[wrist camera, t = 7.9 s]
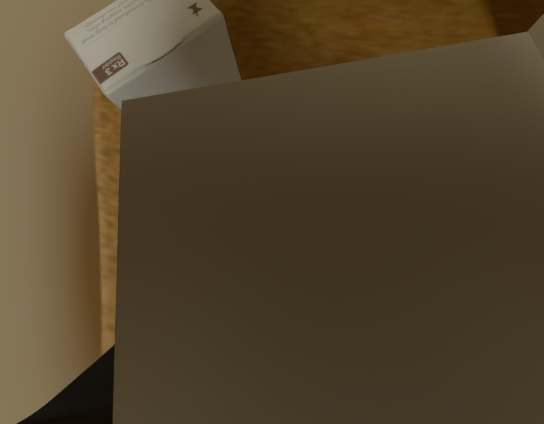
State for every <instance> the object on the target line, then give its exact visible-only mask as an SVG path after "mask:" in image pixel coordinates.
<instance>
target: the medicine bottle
mask: <svg viewBox="0 0 544 424" xmlns="http://www.w3.org/2000/svg"><path fill="white" fill-rule="evenodd" d="M528 32H529V34H530V36H531V38H532V40H533V41H534V43H535V45H536V47H537V49H538V51H539V53H540V55H541V57H542V59H543V61H544V14H543V15H542V16H541V17H540V18H539V19H538V21H537V22H536V23H535V24H534V25H533V26H532V27H531V28H530V29H529V30H528Z"/></svg>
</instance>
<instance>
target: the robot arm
mask: <svg viewBox="0 0 544 424" xmlns="http://www.w3.org/2000/svg"><path fill="white" fill-rule="evenodd" d="M114 354H115V345H114V346H112V347H111V348H110V349H109V350H108V351H107V352H106V353H105V354H104V355H102V356H101V357H100V358H99V359H98V360H97V361H96V362H94V363H93V364H92V365H91V366H90V367H89V368H87V369H86V370H85V371H84V372H83V373H82V374H81V375H79V376H78V377H77V378H76V379H75V380H74V381H72V383H70V384H69V385H68V386H67V387H66V388H64V389H63V390H62V391H61V392H60V393H59V394H57V395H56V396H55V397H54V398H53V399H52V400H50V401H49V402H48V403H47V404H46V405H44V406H43V407H42V408H41V409H39V410H38V411H36V412H35V413H33V414H32V415H31V416H29V417H27V418H26V419H24V420H22V421H21V422H19V423H17V424H113V390H114Z"/></svg>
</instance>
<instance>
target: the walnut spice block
mask: <svg viewBox="0 0 544 424" xmlns="http://www.w3.org/2000/svg"><path fill="white" fill-rule="evenodd" d="M113 424H544V61H543V59H542V57H541V55H540V53H539V51H538V49H537V47H536V45H535V43H534V41H533V40H532V38H531V36H530V34H529V32H522V33H516V34H511V35H505V36H499V37H493V38H487V39H481V40H475V41H470V42H464V43H458V44H452V45H446V46H440V47H434V48H428V49H423V50H417V51H411V52H405V53H399V54H393V55H387V56H381V57H376V58H370V59H364V60H358V61H352V62H346V63H340V64H335V65H329V66H323V67H317V68H311V69H305V70H299V71H293V72H288V73H282V74H276V75H270V76H264V77H258V78H252V79H246V80H241V81H235V82H229V83H223V84H217V85H211V86H205V87H200V88H194V89H188V90H182V91H176V92H170V93H164V94H158V95H153V96H147V97H141V98H135V99H129V100H123V101H122V105H121V140H120V176H119V212H118V247H117V283H116V319H115V354H114V390H113Z"/></svg>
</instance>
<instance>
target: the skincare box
mask: <svg viewBox="0 0 544 424" xmlns="http://www.w3.org/2000/svg"><path fill="white" fill-rule="evenodd" d="M64 35H65V37H66V39H67V41H68V42H69V43H70V45H71V46H72V48H73V49H74V50H75V52H76V53H77V55H78V56H79V58H80V59H81V61H82V62H83V63H84V65H85V66H86V68H87V69H88V71H89V72H90V74H91V75H92V77H93V78H94V80H95V81H96V83H97V84H98V86H99V87H100V89H101V90H102V92H103V93H104V95H105V96H106V97H107V98H109V99H110V100H111V101H112V102H113V103H114V104H115V105H116V106H117V107H119V108H120V109H121V105H122V101H123V100H129V99H135V98H141V97H147V96H153V95H158V94H164V93H170V92H176V91H182V90H188V89H194V88H200V87H205V86H211V85H217V84H223V83H229V82H235V81H241V77H240V74H239V70H238V66H237V63H236V60H235V56H234V53H233V50H232V46H231V43H230V39H229V35H228V31H227V27H226V23H225V19H224V16H223V14H222V13H221V12H220V11H219V10H218V9H217V8H216V7H215V6H214V5H213V3H212V2H211V1H210V0H116V1H115V2H113V3H112V4H110V5H108V6H107V7H105V8H104V9H102V10H101V11H99V12H98V13H96V14H95V15H93V16H91V17H89V18H88V19H86V20H85V21H83V22H82V23H80V24H79V25H77V26H75V27H74V28H72V29H70V30H68V31H67V32H65V34H64Z"/></svg>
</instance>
